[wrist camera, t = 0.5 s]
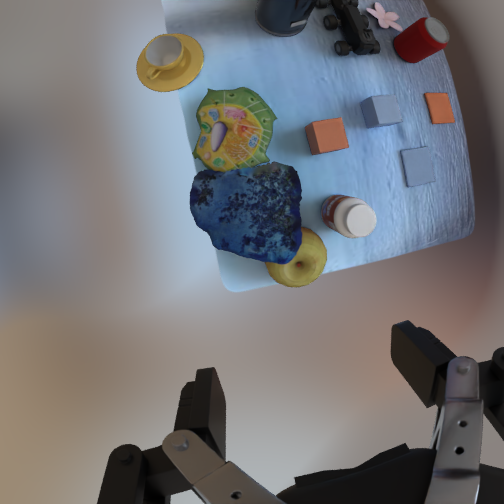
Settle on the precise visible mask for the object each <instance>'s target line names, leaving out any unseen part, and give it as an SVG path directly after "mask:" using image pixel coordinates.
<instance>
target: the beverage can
mask: <svg viewBox="0 0 504 504" xmlns="http://www.w3.org/2000/svg"><path fill="white" fill-rule="evenodd" d="M448 41H449V33H448V31H447V29H446V27H445V26H444V25H443V24H442V23H441V22H440V21H439V20H437V19H435V18H432V17H429V18H420V19H419V20H418V21H416V22H415V23H413V24H412V25H411V26H409V27H408V28H407V29H405V30H404V31H403V32H402V33H400V34H399V35H398V36H397V37H396V38H395V39H394V47H395V49H396V51H397V53H398V54H399V55H400V57H402V58H403V59H404V60H406V61H407V62H410V63H417V62H419V61H421V60H423V59H425V58H426V57H428V56H430V55H432V54H434V53H436V52H438V51H440V50H441V49H443V48H445V47H446V45H447V42H448Z"/></svg>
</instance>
